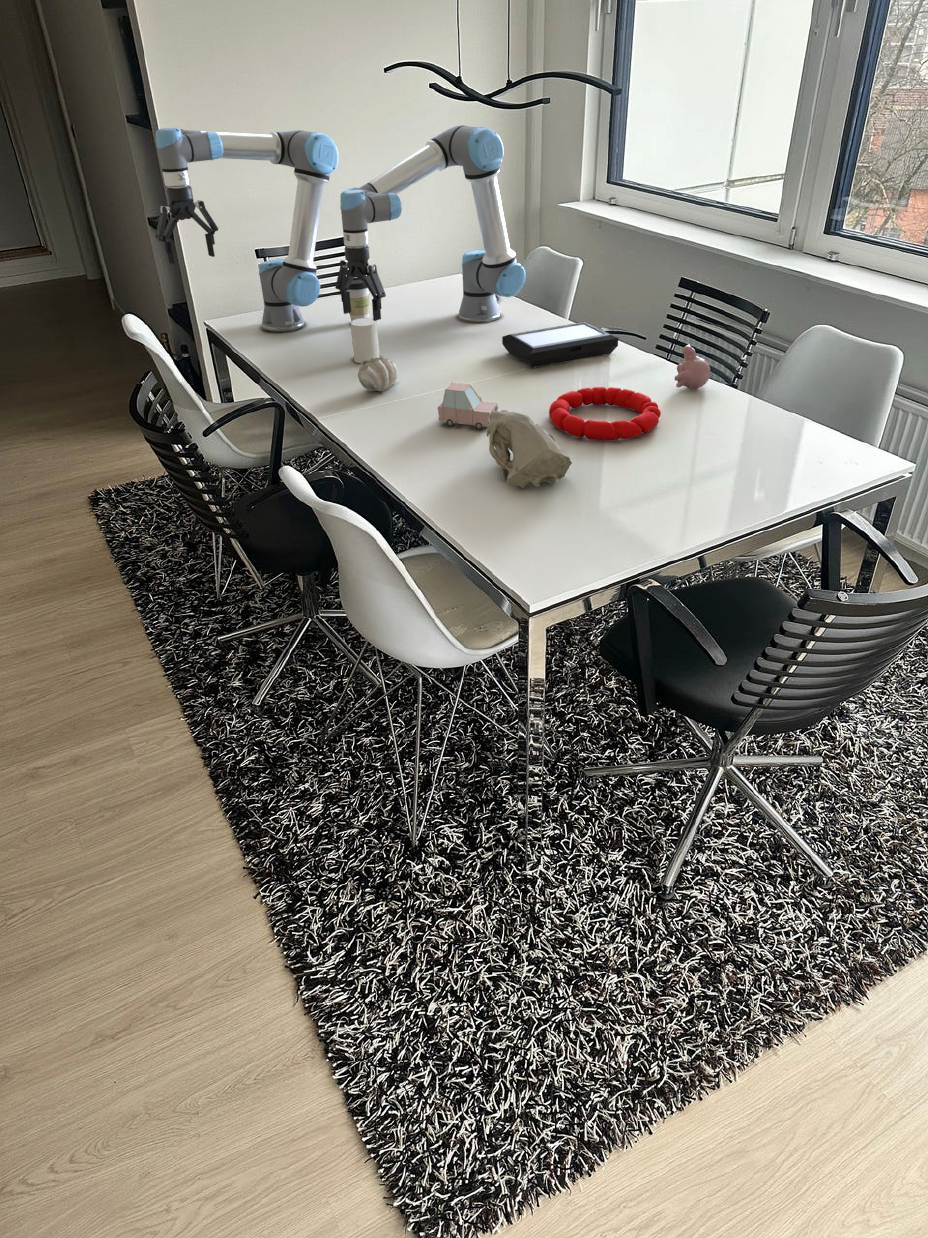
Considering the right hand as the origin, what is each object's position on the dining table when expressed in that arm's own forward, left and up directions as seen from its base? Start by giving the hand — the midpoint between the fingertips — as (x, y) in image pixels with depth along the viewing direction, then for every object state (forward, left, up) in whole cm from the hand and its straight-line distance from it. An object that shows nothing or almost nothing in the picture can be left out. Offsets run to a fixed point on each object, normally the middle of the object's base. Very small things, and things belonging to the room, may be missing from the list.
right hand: (362, 316), depth 285 cm
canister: (0, 0, -14) cm, 14 cm away
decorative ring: (-1, +92, -14) cm, 93 cm away
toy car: (+22, +62, -14) cm, 68 cm away
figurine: (-37, +98, -14) cm, 106 cm away
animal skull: (+37, +92, -14) cm, 100 cm away
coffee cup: (-27, -31, -14) cm, 44 cm away
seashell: (+18, +24, -14) cm, 34 cm away
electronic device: (-41, +49, -14) cm, 65 cm away
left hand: (+29, -45, +17) cm, 56 cm away
